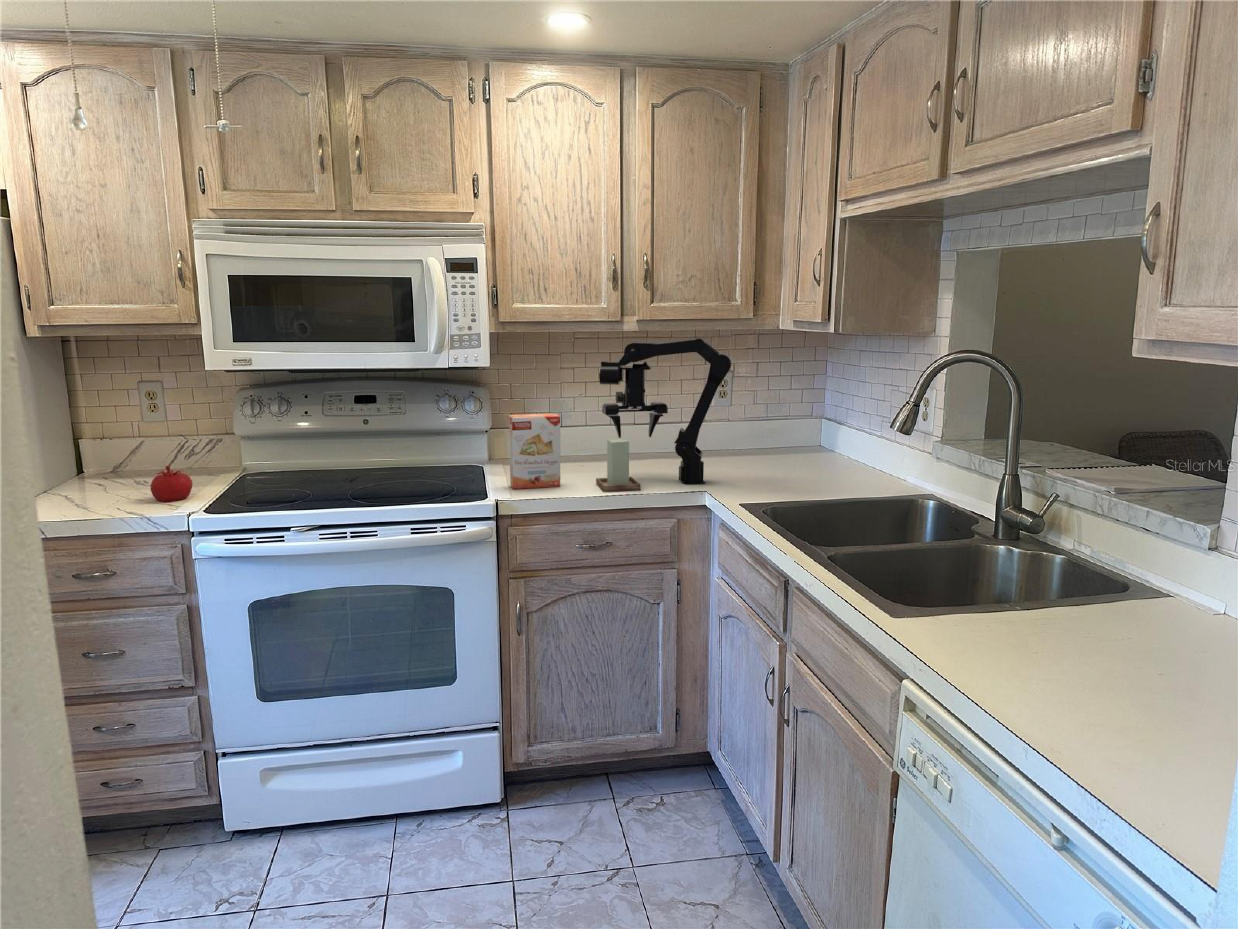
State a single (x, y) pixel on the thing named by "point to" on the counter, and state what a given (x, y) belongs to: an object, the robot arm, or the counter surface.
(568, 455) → the counter surface
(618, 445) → the sage wooden block
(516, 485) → the cracker box
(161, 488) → the red tomato
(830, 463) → the counter surface
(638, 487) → the walnut tray
